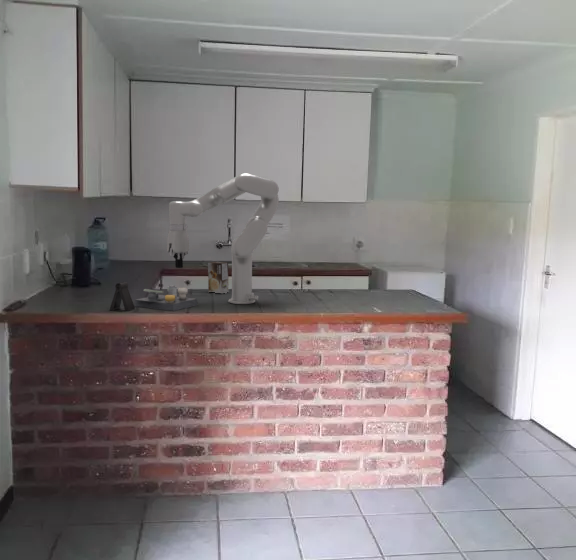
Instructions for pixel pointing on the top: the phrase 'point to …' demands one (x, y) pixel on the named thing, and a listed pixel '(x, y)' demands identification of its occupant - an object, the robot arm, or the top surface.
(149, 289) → the rocker paddle
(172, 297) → the amber button
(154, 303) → the console
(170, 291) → the slider knob
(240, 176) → the robot arm
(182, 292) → the ivory button
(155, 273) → the top surface
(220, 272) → the coffee box
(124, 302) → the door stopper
